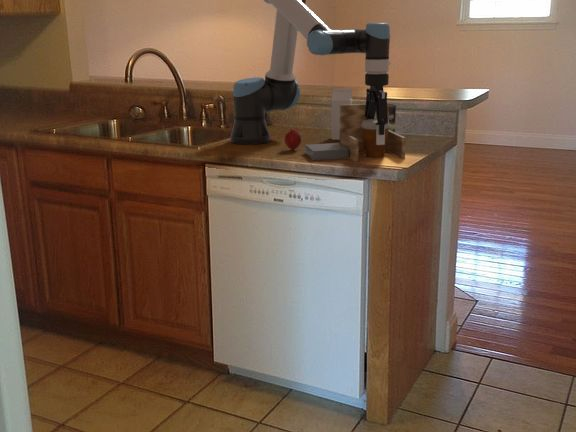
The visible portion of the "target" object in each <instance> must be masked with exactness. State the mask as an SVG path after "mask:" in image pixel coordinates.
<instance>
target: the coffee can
mask: <svg viewBox="0 0 576 432" xmlns="http://www.w3.org/2000/svg"><path fill="white" fill-rule="evenodd" d="M396 109H397V105H396V104H394V103H389V117H388V121H389V124H390V127H389V130H391V131H393V132H395V133H396V119H397V118H396V115H397V112H396V111H397V110H396Z"/></svg>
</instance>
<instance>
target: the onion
mask: <svg viewBox="0 0 576 432" xmlns="http://www.w3.org/2000/svg"><path fill="white" fill-rule="evenodd" d="M301 137H302V136H301V135H300V133H299V132H298V131H297V130H296V129H295V127H291V128H290V130H289V131H287V132H286V134H285V136H284V144H285V145H286V147H288V148H289V149H290V150H291V151H295V150H296V149H297V148H299V146H300V145H301V143H302V138H301Z"/></svg>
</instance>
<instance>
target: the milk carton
mask: <svg viewBox="0 0 576 432" xmlns="http://www.w3.org/2000/svg"><path fill="white" fill-rule="evenodd" d="M352 91H353V89H352V88H332V95H331V140H332V141H333V140H336V141H337V140H338V141H340V105H353V92H352Z"/></svg>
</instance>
